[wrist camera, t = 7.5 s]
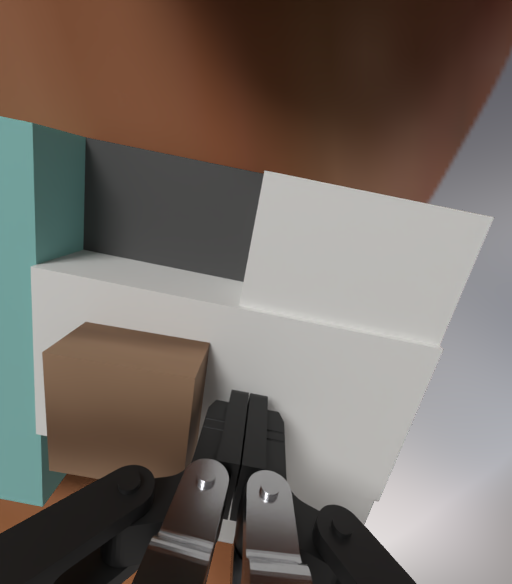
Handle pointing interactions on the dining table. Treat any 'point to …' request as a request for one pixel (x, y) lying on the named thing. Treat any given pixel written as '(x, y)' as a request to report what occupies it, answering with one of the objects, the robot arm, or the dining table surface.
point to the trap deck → (228, 297)
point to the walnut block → (122, 400)
